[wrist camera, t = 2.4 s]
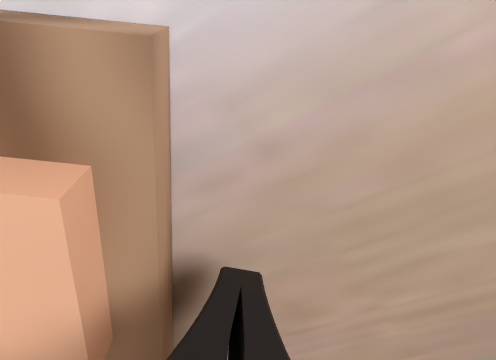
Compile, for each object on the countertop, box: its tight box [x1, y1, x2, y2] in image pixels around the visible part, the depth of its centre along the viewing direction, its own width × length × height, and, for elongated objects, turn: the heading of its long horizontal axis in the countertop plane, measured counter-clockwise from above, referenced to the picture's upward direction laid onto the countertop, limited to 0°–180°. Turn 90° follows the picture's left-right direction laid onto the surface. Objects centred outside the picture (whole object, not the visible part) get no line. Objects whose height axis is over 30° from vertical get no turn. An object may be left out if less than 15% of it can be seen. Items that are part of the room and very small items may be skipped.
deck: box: [0, 10, 173, 360], centre depth 14 cm, size 10×16×2 cm, turn 175°
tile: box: [0, 156, 113, 360], centre depth 13 cm, size 6×8×2 cm
